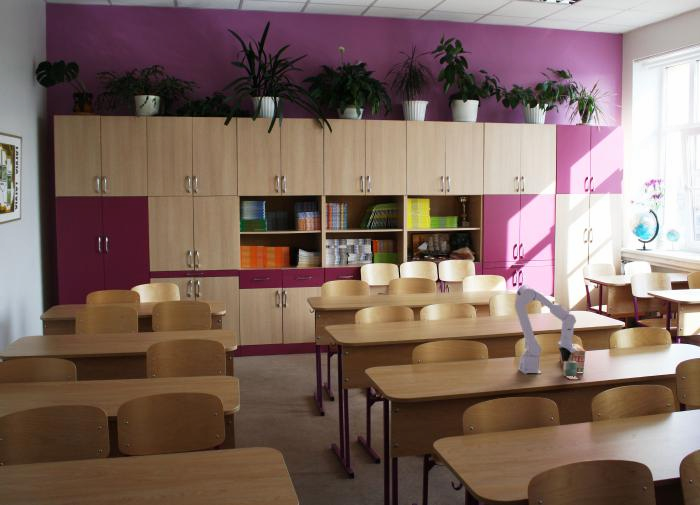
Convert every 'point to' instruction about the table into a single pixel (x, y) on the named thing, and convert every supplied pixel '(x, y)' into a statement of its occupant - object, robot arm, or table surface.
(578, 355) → the beige printed box
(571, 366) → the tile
